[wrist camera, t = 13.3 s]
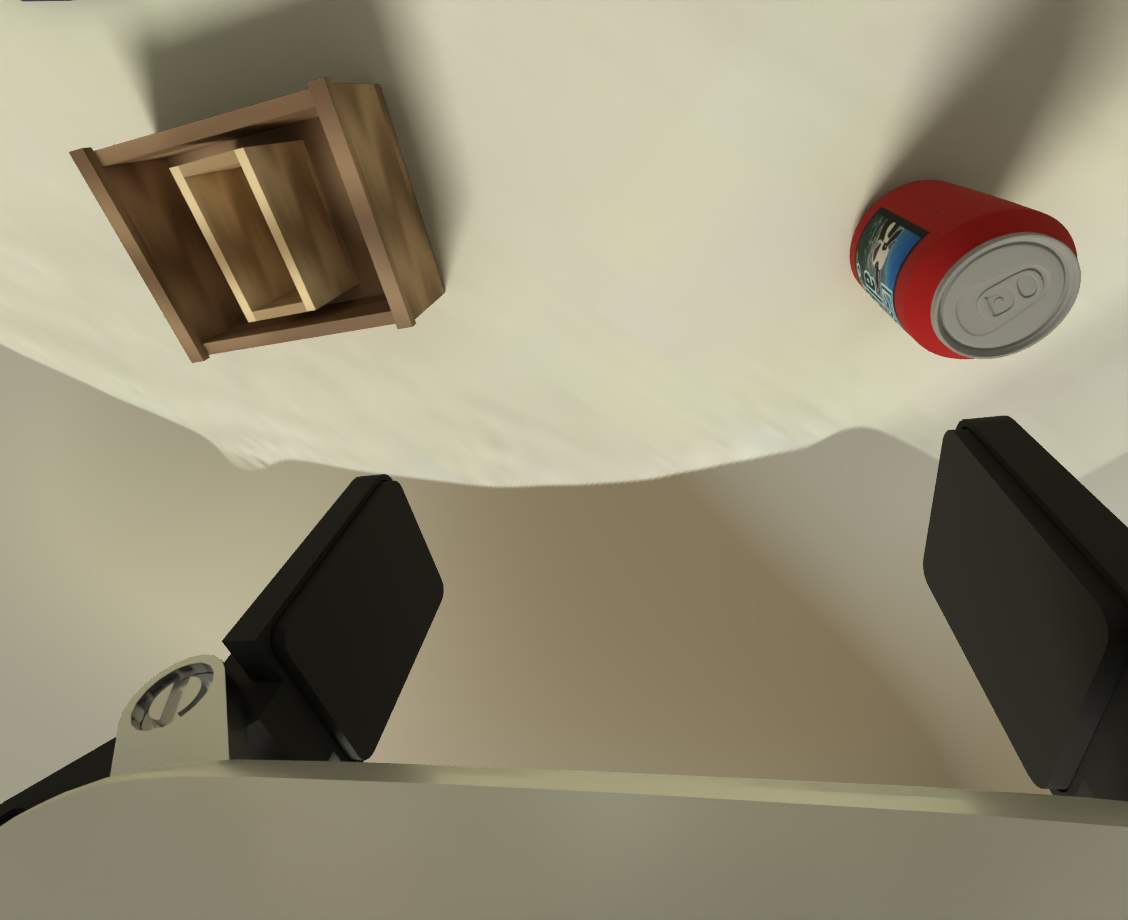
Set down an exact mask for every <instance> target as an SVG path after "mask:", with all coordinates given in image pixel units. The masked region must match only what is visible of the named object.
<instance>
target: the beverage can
mask: <svg viewBox="0 0 1128 920" xmlns="http://www.w3.org/2000/svg"><path fill="white" fill-rule="evenodd" d="M850 264H851V269H852V272H853V274H854V276H855V278H856V280H857V281H858V283H859V284H860V285H861V286H862V287H863V288H864V289H865V291H866V292H867V293H868V294H869V295H870V296H871V297H872V298H873V299H874V300H875V301H876V302H877V303H878V304H879V305H880V306H881V307H882V308H883V309H884V310H885V311H886V312H887V313H888V314H889V315H890V316H891V317H892V318H893V319H894V320H895V321H896V322H897V323H898V324H899V325H900V326H901V327H902V328H903V329H904V330H905V331H906V332H907V333H908V334H909V335H910V336H911V337H912V338H913V339H914V340H916V341H917V342H918V343H919V344H920V345H921V346H922V347H924V348H925V349H927V350H928V351H930V352H932V353H934V354H937V355H940V356H943V357H948V358H955V359H975V358H976V359H992V358H999V357H1004V356H1008V355H1011V354H1014V353H1017V352H1019V351H1022V350H1024V349H1026V348H1028V347H1030V346H1032V345H1034V344H1035V343H1037V342H1039V341H1040V340H1042V339H1043V338H1044V337H1046V336H1047V335H1048V334H1050V333H1051V332H1052V331H1053V330H1054V329H1055V328H1056V327H1057V326H1058V325H1059V324H1060V323H1061V322H1062V321H1063V319H1064V318H1065V317H1066V315H1067V314H1068V313H1069V311H1070V310H1071V308H1072V306H1073V304H1074V302H1075V300H1076V298H1077V295H1078V292H1079V288H1080V282H1081V272H1080V266H1079V263H1078V260H1077V252H1076V248H1075V244H1074V242H1073V239H1072V237H1071V235H1070V234H1069V232H1068V231H1067V229H1066V228H1065V227H1064V226H1063V225H1062V224H1061V223H1060V222H1059V221H1057V220H1056V219H1054V218H1053V217H1051V216H1049V215H1047V214H1045V213H1042V212H1039V211H1036V210H1033V209H1031V208H1028V207H1025V206H1022V205H1019V204H1016V203H1013V202H1010V201H1007V200H1004V199H1001V198H997V197H994V196H991V195H988V194H985V193H981V192H978V191H975V190H972V189H968V188H965V187H961V186H957V185H954V184H950V183H947V182H943V181H937V180H924V181H918V182H913V183H909V184H907V185H904V186H901V187H899V188H897V189H895V190H893V191H891V192H890V193H888V194H887V195H885V196H884V197H882V198H881V199H880V200H879V201H877V202H876V203H875V204H874V205H873V206H872V207H871V208H870V209H869V210H868V212H867V213H866V214H865V215H864V217H863V218H862V220H861V221H860V223H859V225H858V226H857V228H856V230H855V233H854V235H853V239H852V242H851V247H850Z"/></svg>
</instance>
